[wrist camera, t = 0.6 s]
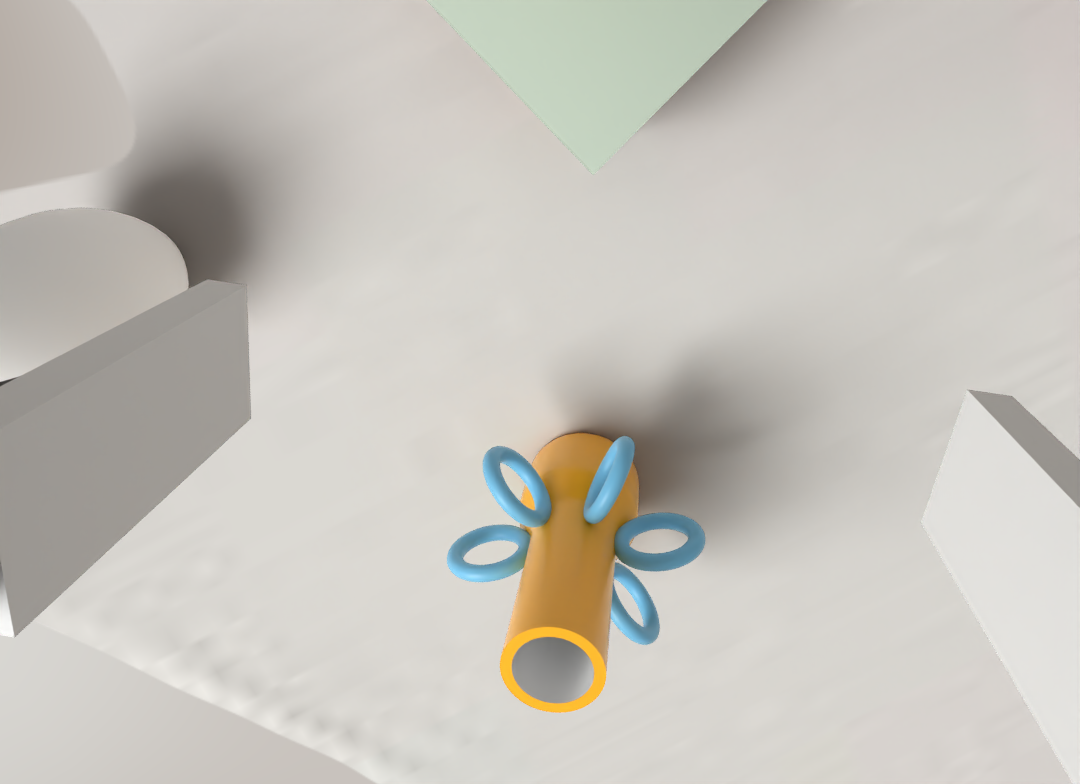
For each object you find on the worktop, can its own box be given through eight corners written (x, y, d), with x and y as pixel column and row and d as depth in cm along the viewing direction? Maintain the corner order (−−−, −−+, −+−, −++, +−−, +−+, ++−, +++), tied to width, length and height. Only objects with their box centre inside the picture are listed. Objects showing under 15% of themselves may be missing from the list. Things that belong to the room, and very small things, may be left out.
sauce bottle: (227, 205, 41) (-61, 304, 24) (226, 349, 44) (-30, 524, 28) (79, 177, 41) (-302, 256, 25) (89, 322, 44) (-244, 477, 28)
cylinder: (688, 378, 41) (706, 538, 28) (706, 553, 45) (729, 771, 31) (457, 402, 44) (366, 561, 30) (492, 567, 47) (425, 777, 33)
